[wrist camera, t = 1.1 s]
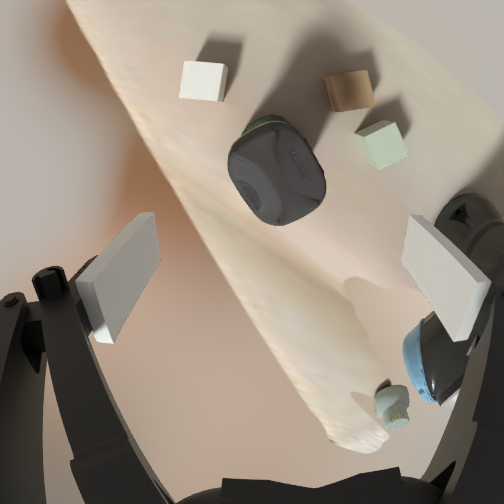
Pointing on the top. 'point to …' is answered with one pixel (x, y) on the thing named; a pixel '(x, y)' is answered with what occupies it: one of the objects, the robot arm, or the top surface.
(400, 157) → the sage block
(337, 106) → the walnut block
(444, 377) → the robot arm
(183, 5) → the top surface
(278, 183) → the coffee jar
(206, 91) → the off-white block
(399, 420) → the air freshener
